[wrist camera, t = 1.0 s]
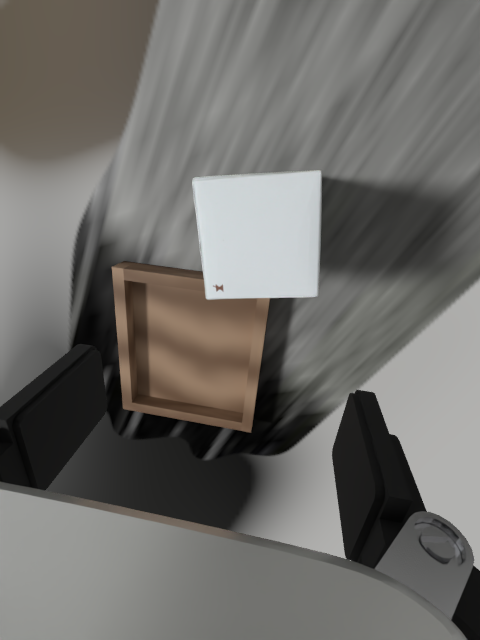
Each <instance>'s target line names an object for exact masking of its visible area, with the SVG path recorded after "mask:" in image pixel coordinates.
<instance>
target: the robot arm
mask: <svg viewBox="0 0 480 640" xmlns="http://www.w3.org/2000/svg"><path fill="white" fill-rule="evenodd" d="M106 410H107V400H106V392H105V385H104V377H103V369H102V361H101V354H100V352H99V351H97V349H96V347H94V346H89V345H83V344H78V345H77V346H75V347H74V348H73V349H72V350H70V351H69V352H68V353H67V354H65V355H64V356H63V357H62V358H61V359H59V360H58V361H57V362H55V363H54V364H53V365H52V366H51V367H49V368H48V369H47V370H46V371H44V372H43V373H42V374H41V375H39V376H38V377H37V378H36V379H34V380H33V381H32V382H31V383H30V384H28V385H27V386H26V387H24V388H23V389H22V390H21V391H19V392H18V393H17V394H16V395H15V396H13V397H12V398H11V399H10V400H8V401H7V402H6V403H5V404H3V405H2V406H1V407H0V640H480V571H479V570H478V569H477V568H476V567H475V566H473V563H474V556H473V552H472V549H471V547H470V545H469V544H468V541H467V540H466V538H465V537H464V536H463V535H462V533H461V532H460V531H459V530H458V529H457V528H456V527H455V526H454V525H453V524H451V523H450V522H449V521H447V520H446V519H444V518H442V517H441V516H439V515H436V514H434V513H431V512H427V511H426V509H425V506H424V503H423V501H422V498H421V496H420V493H419V491H418V488H417V485H416V483H415V480H414V478H413V475H412V472H411V470H410V467H409V465H408V462H407V460H406V457H405V454H404V452H403V449H402V446H401V444H400V441H399V440H398V438H397V437H396V436H395V435H391V434H389V432H388V429H387V426H386V424H385V421H384V418H383V415H382V412H381V409H380V407H379V404H378V401H377V398H376V395H375V393H373V392H367V391H361V390H356V392H355V394H354V393H350V394H349V397H348V400H347V403H346V407H345V410H344V413H343V416H342V420H341V423H340V426H339V430H338V433H337V436H336V439H335V443H334V446H333V451H332V459H333V466H334V474H335V482H336V489H337V497H338V504H339V511H340V520H341V527H342V535H343V543H344V550H345V556H346V558H347V559H348V560H347V559H344V558H340V557H337V556H333V555H330V554H327V553H322V552H318V551H314V550H310V549H306V548H302V547H297V546H293V545H290V544H285V543H281V542H277V541H273V540H268V539H264V538H260V537H255V536H251V535H246V534H242V533H237V532H233V531H228V530H224V529H220V528H215V527H211V526H206V525H201V524H197V523H193V522H188V521H183V520H179V519H175V518H169V517H165V516H161V515H156V514H152V513H147V512H143V511H138V510H133V509H129V508H124V507H120V506H115V505H110V504H106V503H101V502H96V501H92V500H87V499H82V498H78V497H73V496H68V495H63V494H58V493H54V492H49V491H45V490H46V489H47V488H48V487H49V485H50V484H51V483H52V481H53V480H54V479H55V478H56V476H57V475H58V474H59V472H60V471H61V470H62V469H63V467H64V466H65V465H66V463H67V462H68V461H69V459H70V458H71V457H72V456H73V454H74V453H75V452H76V451H77V449H78V448H79V447H80V445H81V444H82V443H83V442H84V440H85V439H86V438H87V436H88V435H89V434H90V433H91V431H92V430H93V429H94V427H95V426H96V425H97V424H98V422H99V421H100V420H101V418H102V417H103V416H104V414H105V412H106ZM350 560H352V561H350Z"/></svg>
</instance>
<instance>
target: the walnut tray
mask: <svg viewBox="0 0 480 640" xmlns="http://www.w3.org/2000/svg"><path fill="white" fill-rule="evenodd" d="M112 275H113V287H114V300H115V312H116V325H117V337H118V349H119V362H120V374H121V387H122V399H123V409H127V410H132V411H138V412H143V413H149V414H154V415H159V416H165V417H170V418H176V419H181V420H186V421H192V422H197V423H203V424H208V425H213V426H219V427H224V428H230V429H235V430H240V431H246V432H251V429H252V423H253V417H254V410H255V403H256V396H257V389H258V382H259V374H260V367H261V360H262V353H263V346H264V339H265V332H266V325H267V318H268V311H269V304H270V298H244V299H215V300H207V299H206V295H205V285H204V276H203V272H200V271H193V270H185V269H178V268H170V267H163V266H155V265H148V264H141V263H133V262H126V261H124V262H121V263H119V264H117V265H115V266H113V267H112Z"/></svg>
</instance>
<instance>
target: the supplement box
mask: <svg viewBox="0 0 480 640" xmlns="http://www.w3.org/2000/svg"><path fill="white" fill-rule="evenodd" d="M192 185H193V194H194V202H195V210H196V218H197V226H198V235H199V246H200V253H201V259H202V268H203V276H204V285H205V295H206V299H207V300H215V299H244V298H295V297H317V296H318V292H319V275H320V250H321V212H322V171H321V170H312V171H292V172H272V173H253V174H237V175H221V176H205V177H195V178H193V182H192Z"/></svg>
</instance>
